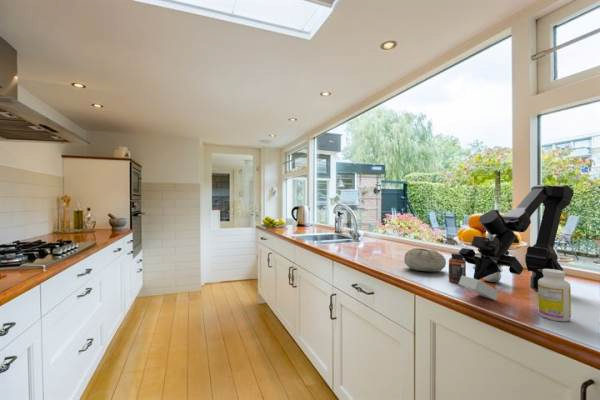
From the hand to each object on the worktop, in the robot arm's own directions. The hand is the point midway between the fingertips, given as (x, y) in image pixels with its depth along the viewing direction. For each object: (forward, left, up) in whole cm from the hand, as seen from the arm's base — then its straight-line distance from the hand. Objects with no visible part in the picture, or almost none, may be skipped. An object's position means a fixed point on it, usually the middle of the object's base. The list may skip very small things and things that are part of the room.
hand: (475, 279), depth 91 cm
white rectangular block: (-5, -4, -5) cm, 8 cm away
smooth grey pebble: (+13, -37, -7) cm, 40 cm away
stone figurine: (-11, -27, -7) cm, 30 cm away
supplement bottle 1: (+2, -21, -7) cm, 22 cm away
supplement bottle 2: (-17, +9, -7) cm, 20 cm away
